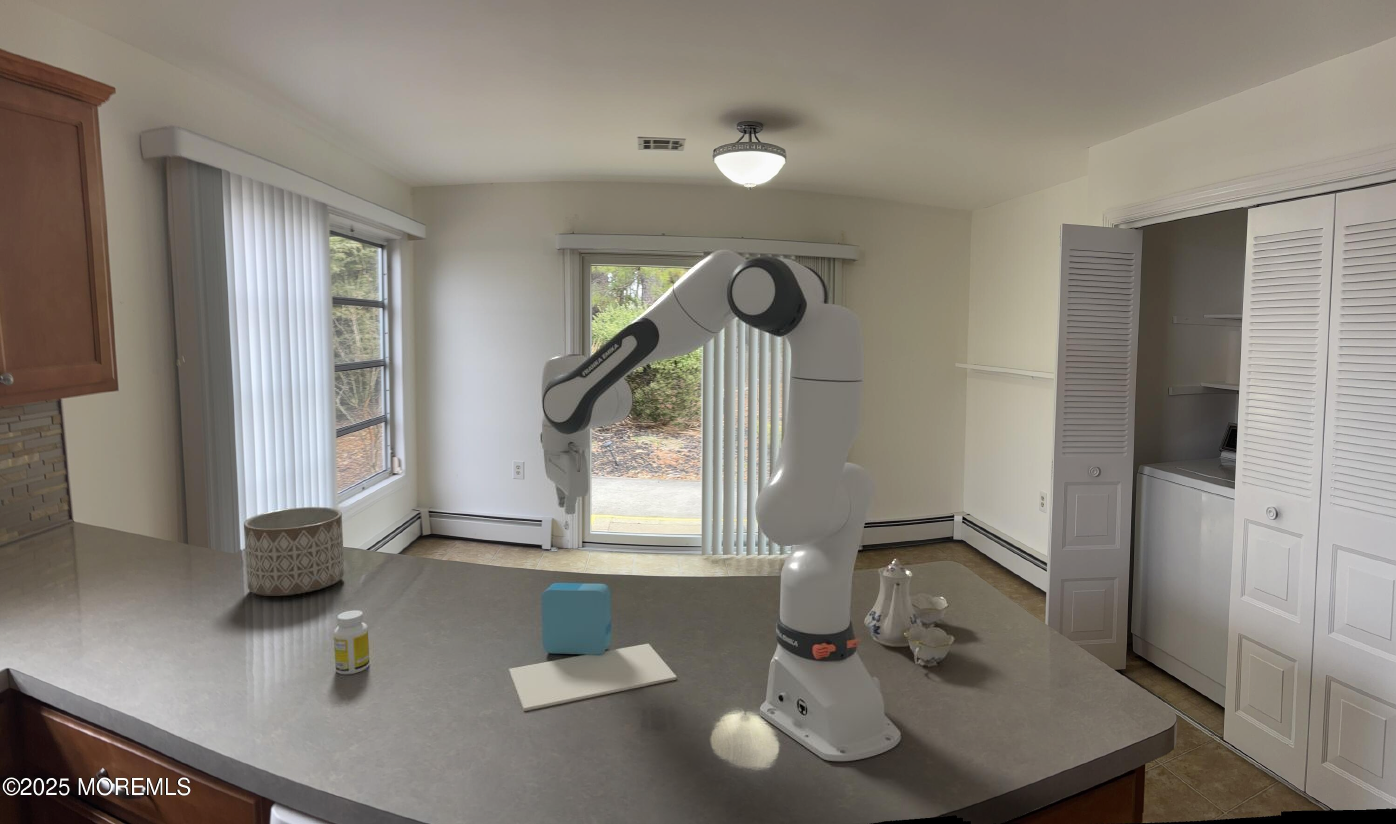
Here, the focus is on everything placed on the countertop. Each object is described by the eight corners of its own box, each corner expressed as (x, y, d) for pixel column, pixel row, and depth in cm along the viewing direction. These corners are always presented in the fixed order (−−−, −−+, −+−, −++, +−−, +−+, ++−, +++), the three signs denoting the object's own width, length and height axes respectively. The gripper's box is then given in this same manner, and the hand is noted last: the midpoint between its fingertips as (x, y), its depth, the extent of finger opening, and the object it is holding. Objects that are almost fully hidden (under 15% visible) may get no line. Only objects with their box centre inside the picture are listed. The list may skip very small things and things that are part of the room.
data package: (611, 646, 131) (610, 583, 131) (606, 655, 127) (604, 591, 126) (550, 644, 133) (548, 582, 132) (542, 653, 128) (540, 589, 128)
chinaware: (961, 687, 122) (977, 597, 120) (864, 667, 125) (878, 579, 123) (939, 623, 149) (952, 549, 147) (860, 608, 152) (871, 535, 150)
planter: (262, 576, 167) (258, 509, 165) (351, 569, 172) (348, 504, 171) (235, 607, 148) (231, 532, 147) (336, 597, 154) (332, 525, 152)
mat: (676, 679, 120) (676, 676, 120) (523, 711, 109) (523, 708, 109) (648, 646, 132) (648, 643, 132) (509, 671, 122) (509, 668, 122)
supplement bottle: (370, 658, 126) (368, 606, 125) (368, 672, 121) (366, 618, 120) (337, 663, 124) (334, 610, 123) (333, 677, 119) (330, 622, 118)
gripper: (596, 446, 125) (597, 521, 126) (569, 431, 143) (569, 497, 145) (561, 448, 122) (562, 525, 124) (538, 432, 141) (539, 499, 142)
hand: (566, 510), depth 134 cm, fingers open, 4 cm apart
